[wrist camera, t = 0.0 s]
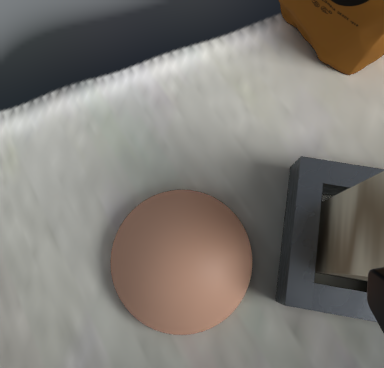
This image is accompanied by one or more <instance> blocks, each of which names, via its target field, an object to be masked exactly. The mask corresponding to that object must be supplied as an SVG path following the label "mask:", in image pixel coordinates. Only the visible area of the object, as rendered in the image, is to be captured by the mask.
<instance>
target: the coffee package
mask: <svg viewBox="0 0 384 368" xmlns="http://www.w3.org/2000/svg"><path fill="white" fill-rule="evenodd" d="M279 2H280V7H281V13H282V16H283V18H284V19H285V20H286V22H287V23H289V24H292V25H294V27H296V28H297V29H298V30H299V32H300V33H301V34H302V36H303V37H304V38H305V40H306V41H308V42H309V43H310V44H311V45H312V47H313V48H314V50H315V51H316V53H317V56H318V59H319V60H320V61H322V62H324V63H325V64H328V65H330V66H331V67H333V68H334V69H336V70H338V71H340V72H342V73H344V74H347V75H351V74H354V73H356V72H358V71H360V70H361V69H363V68H364V67H366V66H367V65H369V64H371V63H373V62H374V61H376V60H377V59H379V58H380V57H381V56H382V55H384V0H279Z"/></svg>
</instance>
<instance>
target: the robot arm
mask: <svg viewBox="0 0 384 368" xmlns="http://www.w3.org/2000/svg"><path fill="white" fill-rule="evenodd" d="M367 302H368V305H369V308H370V310H371V311H372V313H373V315H374V317H375V319H376V320H377V322H378V324H379V326H380V327H381V329H382V331H383V333H384V267H381V268H375V269H371V270H370V271H369V273H368V284H367Z"/></svg>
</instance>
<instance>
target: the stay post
mask: <svg viewBox="0 0 384 368" xmlns="http://www.w3.org/2000/svg"><path fill="white" fill-rule="evenodd" d="M381 267H384V171H383V172H381V173H379V174H377V175H375V176H373V177H371V178H369V179H367V180H365V181H363V182H361V183H359V184H357V185H355V186H353V187H351V188H349V189H347V190H345V191H343V192H341V193H339V194H337V195H335V196H333V197H331V198H329V199H327V200H325V201H323V202H321V210H320V222H319V233H318V244H317V255H316V266H315V273H321V274H327V275H333V276H339V277H344V278H350V279H356V280H362V281H367V282H368V273H369V271H370V270H371V269H375V268H381Z"/></svg>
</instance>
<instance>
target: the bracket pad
mask: <svg viewBox="0 0 384 368" xmlns="http://www.w3.org/2000/svg"><path fill="white" fill-rule="evenodd" d="M251 273H252V251H251V245H250V242H249V238H248V236H247V233H246V231H245V229H244V227H243V225H242V223H241V222H240V220H239V219H238V218H237V216H236V215H235V214H234V213H233V212H232V211H231V210H230V209H229V208H228V207H227V206H226V205H225V204H223V203H222V202H221V201H219V200H217V199H216V198H214V197H212V196H209V195H207V194H204V193H201V192H198V191H192V190H172V191H167V192H163V193H160V194H157V195H154V196H152V197H150V198H148V199H146V200H145V201H143V202H142V203H140V204H139V205H138V206H137V207H136V208H134V209H133V210H132V211H131V212H130V213H129V215H128V216H127V217H126V218H125V220H124V221H123V223H122V224H121V226H120V228H119V230H118V232H117V234H116V236H115V239H114V242H113V247H112V251H111V274H112V279H113V283H114V286H115V289H116V292H117V294H118V296H119V298H120V300H121V301H122V303H123V304H124V306H125V307H126V308H127V310H128V311H129V312H130V313H131V314H132V315H133V316H134V317H135V318H136V319H137V320H139V321H140V322H142V323H143V324H145V325H146V326H148V327H150V328H152V329H154V330H157V331H160V332H163V333H168V334H173V335H187V334H195V333H199V332H203V331H205V330H208V329H210V328H212V327H214V326H216V325H217V324H219V323H221V322H222V321H223V320H225V319H226V318H227V317H228V316H229V315H230V314H231V313H232V312H233V311H234V310H235V309H236V308H237V306H238V305H239V304H240V302H241V300H242V299H243V297H244V295H245V293H246V291H247V288H248V286H249V282H250V278H251Z"/></svg>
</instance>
